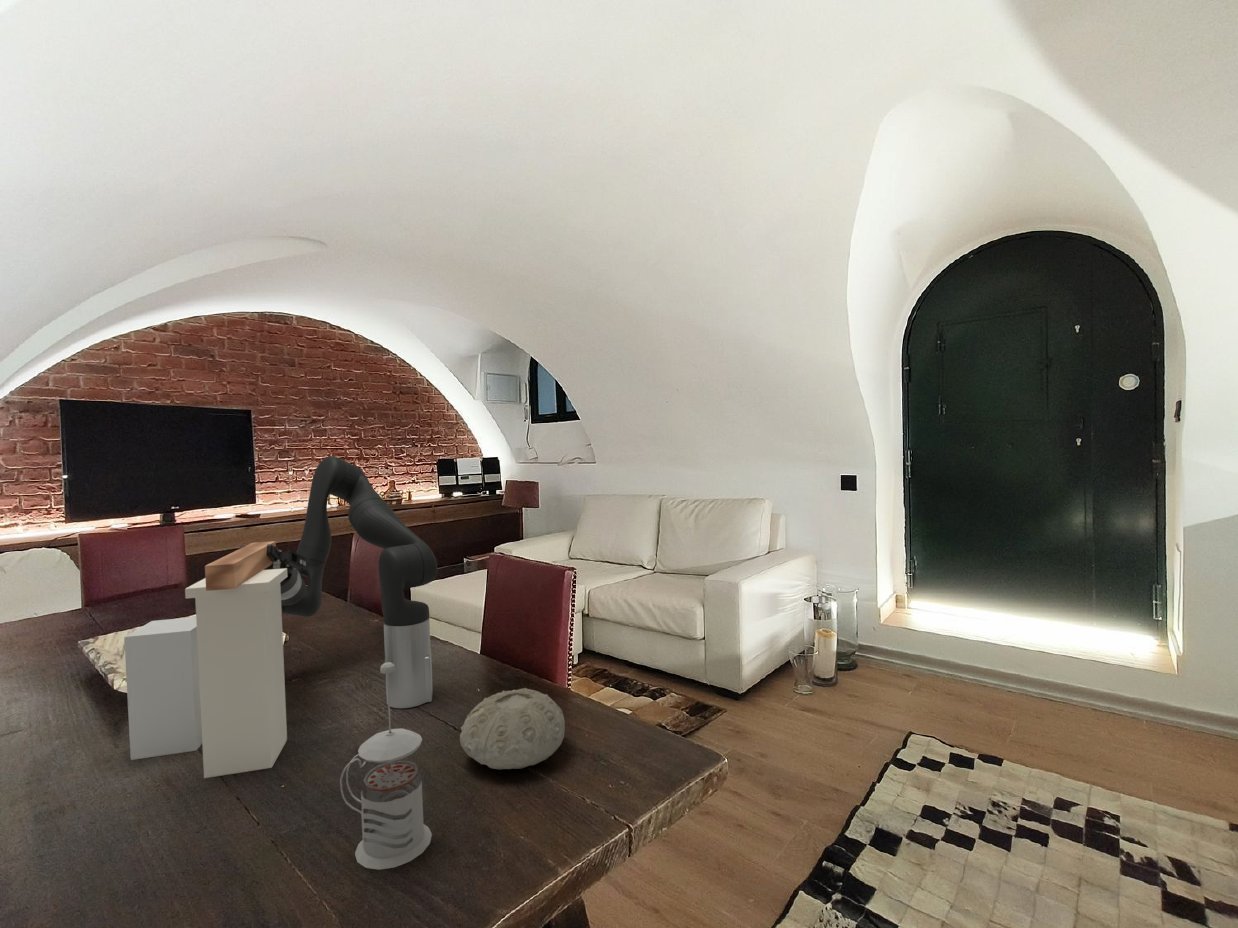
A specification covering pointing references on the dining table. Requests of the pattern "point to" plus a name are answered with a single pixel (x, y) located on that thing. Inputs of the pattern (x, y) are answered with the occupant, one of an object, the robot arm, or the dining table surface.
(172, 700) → the grey block
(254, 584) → the cream stand
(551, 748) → the decorative shell
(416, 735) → the french press
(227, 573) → the terracotta bar
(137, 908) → the dining table surface
